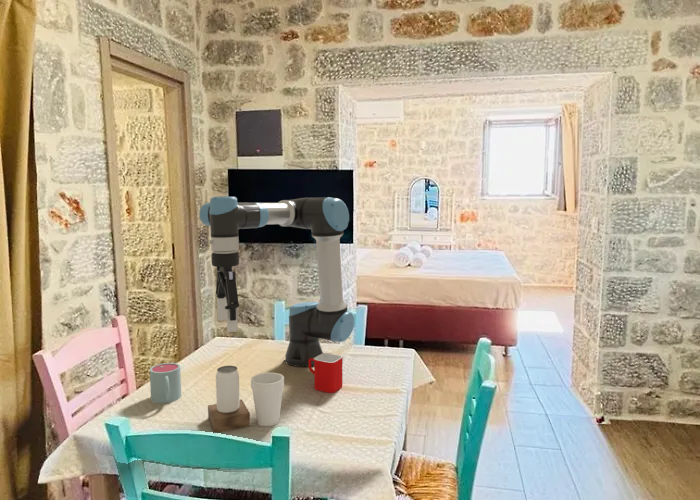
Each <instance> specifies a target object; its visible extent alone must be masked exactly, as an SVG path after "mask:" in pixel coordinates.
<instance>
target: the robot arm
mask: <svg viewBox="0 0 700 500" xmlns="http://www.w3.org/2000/svg"><path fill="white" fill-rule="evenodd" d="M199 218H200V219H199V220H200V221H201V223H202V224H203V225H204V226H207V227H210V240H209V241H208V244H209V245H210V244H211V246H210V247H211V248H210V249H211V251H212V252H211V254H210V255H211V256H210V257H211V265H212V267H214V268H215V267H216V282H215V283H216V284H215V285H216V286H215V295H216V298H217V299H216V300H217V301H216V302H217V321H225V320H226V331H227V333H233V332H234V333H235V332H238V330H239V326H238V325H239V324H238V321H239V320H238V308H239V307H240V303H239V302H240V301H239V295H238V287H237V280H236V274H237V273H236V271H233V267H237V266H239V264H240V253H239V252H238V251H239V250H240V240H239V230H244V229H258V228H262V227H265V226H266V225H279V226H280V227H292V228H296V229H297V228H298V229H305V230H311V237H312V238H314V239H315V241H316V257H317V258H316V259H317V273H318V274H317V275H318V285H319V287H318V288H319V302H317V301H307V302H306V301H305V302H298V303H295V304H293V305H291V306H290V307H289V310H288V311H289V313H288V325H289V326H288V327H289V328H288V332H289V341H288V342H289V343H288V346H287V349H286V352H285V359H284V361H285V363H286V364H287V365H290V366H294V367H304V368H305V367H309V359H310V358H313V359H314V358H315V357H317V356H319V355H320V354H322V353H324V352H323V350H322V349H323V348H322V345H321V344H320V339H322V340H325V341H326V340H327V341H331V342H332V343H334V342H336V343H337V342H338V343H343V342H345V341H346V340H348V339H349V337H350V336H351V335H352V333H353V330H354V327H355V316H354V314H353V313H352V312H351V311H348V310H349V309H348V303H346V302H345V301H344V295H343V294H344V293H343V279H342V278H343V276H342V261H341V260H342V259H341V244H340V243H341V242H340V241H341V240H340V239H341V237H343V235H344V230H346V229H347V228H348V226H349V222H350V213H349V209H348V207H347V205H346V203H345V202H344V200H342V199H340V198H337V197H329V196H328V197H300V198H295V199H283V200H280V201H278V202H238V198H237V197H236V196H212V197H211V198H210V200H209V202H206V203H204V204H203V205H202V206H201V207H200V209H199ZM312 366H313V367H314V361H311V367H312Z"/></svg>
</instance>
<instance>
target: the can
mask: <svg viewBox="0 0 700 500" xmlns="http://www.w3.org/2000/svg"><path fill="white" fill-rule="evenodd" d="M216 371H217V372H216V374H215V391H216V392H215V394H216V397H215V399H216V404H217V410H218V411H219V412H221V413H232V412H235V411H237V410H238V409H239V407H240V400H241V399H240V396H241V395H240V373H239V371H238V366H236V365H223V366H220V367H218V368H217V369H216Z"/></svg>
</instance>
